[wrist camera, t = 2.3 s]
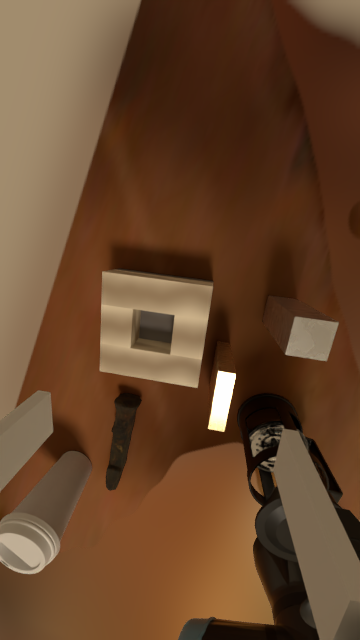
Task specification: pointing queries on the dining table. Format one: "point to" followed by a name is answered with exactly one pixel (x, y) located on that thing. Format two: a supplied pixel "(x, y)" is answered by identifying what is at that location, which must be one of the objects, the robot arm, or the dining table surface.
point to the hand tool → (121, 437)
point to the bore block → (154, 325)
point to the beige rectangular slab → (221, 386)
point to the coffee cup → (43, 516)
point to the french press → (263, 455)
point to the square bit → (299, 328)
